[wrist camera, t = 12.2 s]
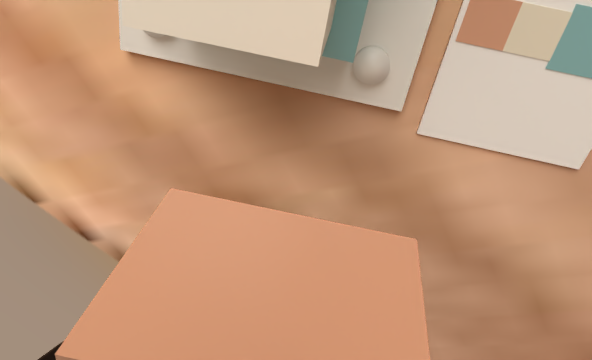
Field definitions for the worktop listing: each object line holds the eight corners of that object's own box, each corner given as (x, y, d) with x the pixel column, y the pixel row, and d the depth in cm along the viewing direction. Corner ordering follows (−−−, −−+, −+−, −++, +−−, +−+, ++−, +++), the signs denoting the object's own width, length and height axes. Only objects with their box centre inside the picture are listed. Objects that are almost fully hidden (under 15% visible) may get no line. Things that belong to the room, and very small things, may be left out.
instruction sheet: (737, -102, 14) (741, -101, 14) (577, 167, 20) (579, 170, 20) (514, -147, 15) (516, -147, 15) (416, 132, 20) (417, 134, 20)
